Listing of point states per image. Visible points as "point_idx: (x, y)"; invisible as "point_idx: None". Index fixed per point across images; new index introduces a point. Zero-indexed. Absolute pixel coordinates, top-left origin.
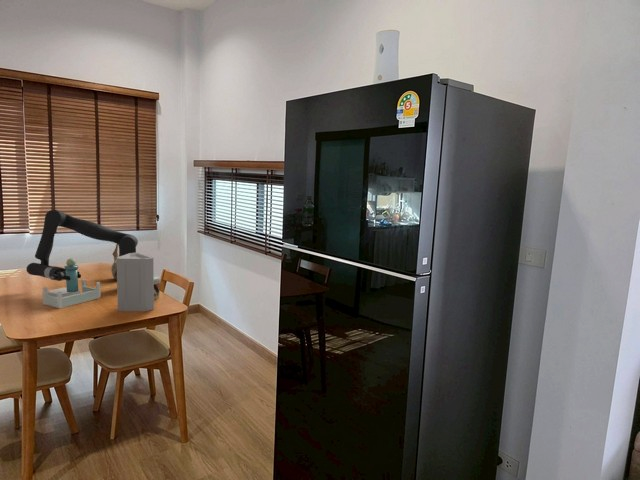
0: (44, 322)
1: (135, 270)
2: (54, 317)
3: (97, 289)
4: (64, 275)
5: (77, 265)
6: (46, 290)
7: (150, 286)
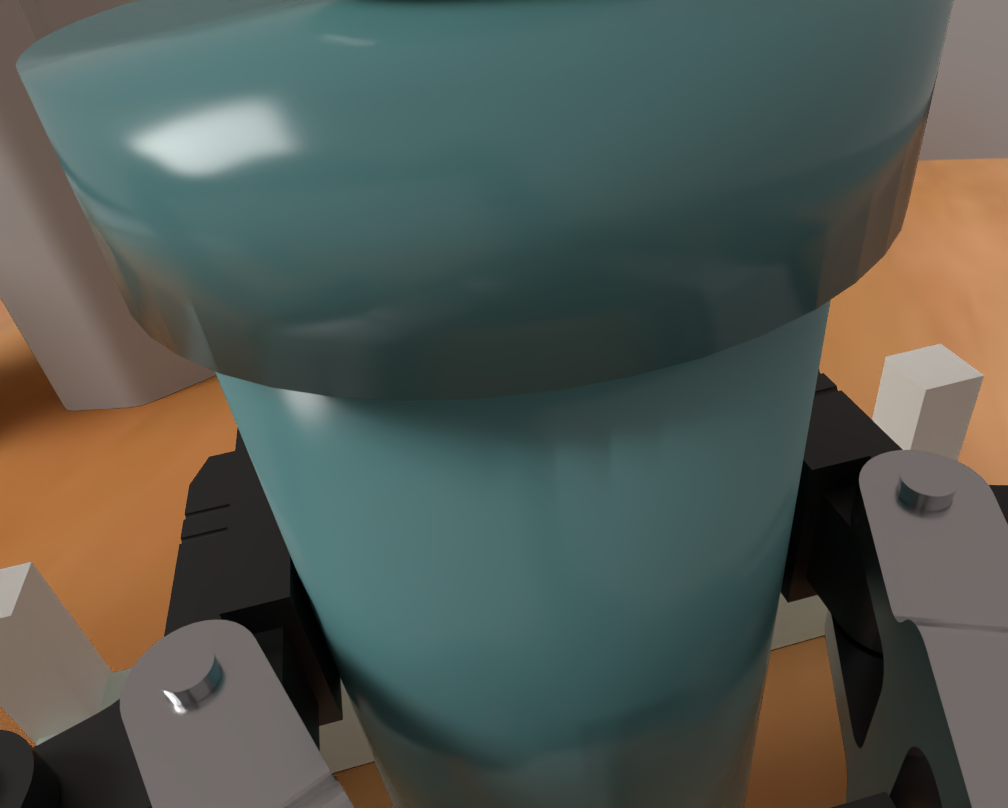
0: (1002, 286)
1: None
2: (921, 346)
3: (104, 674)
4: (859, 472)
5: (134, 5)
6: None
7: None
